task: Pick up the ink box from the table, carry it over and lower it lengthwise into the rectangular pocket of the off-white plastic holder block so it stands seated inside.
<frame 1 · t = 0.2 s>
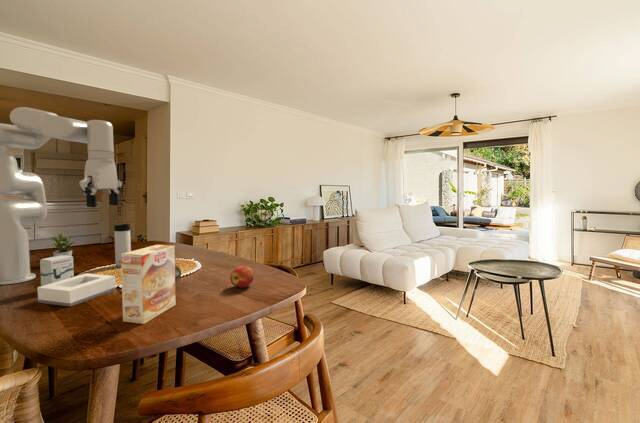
hand: (103, 205, 114), 31 cm above the table, tool pointing down, fingers open, 9 cm apart
holder block: (79, 295, 111), on the table
travel mug: (123, 266, 151), on the table
ink box: (58, 290, 117), on the table
apple: (242, 287, 123), on the table
house plant: (60, 264, 152), on the table
coffeecake box: (151, 313, 97), on the table
tin: (159, 286, 123), on the table
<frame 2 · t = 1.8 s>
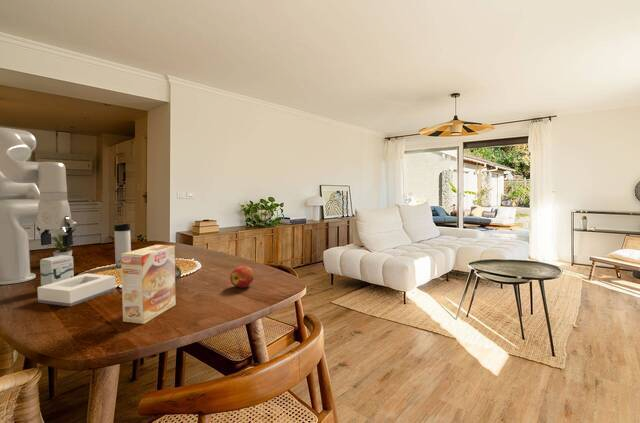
hand: (57, 245, 115), 16 cm above the table, tool pointing down, fingers open, 9 cm apart
nothing on the table moved.
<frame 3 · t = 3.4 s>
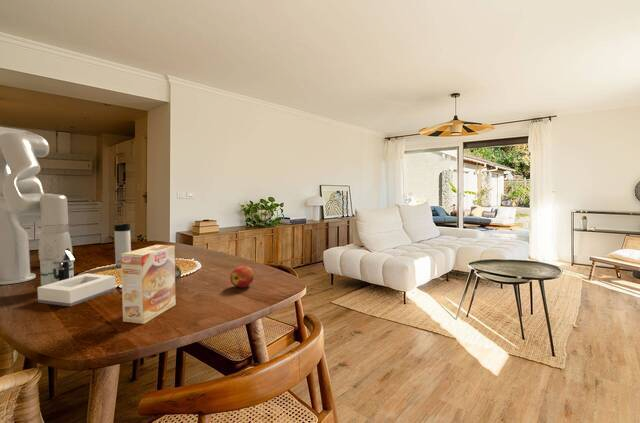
hand: (57, 278, 117), 4 cm above the table, tool pointing down, fingers closed on ink box, 5 cm apart
ink box: (58, 290, 117), on the table, touching gripper
everything else where it was.
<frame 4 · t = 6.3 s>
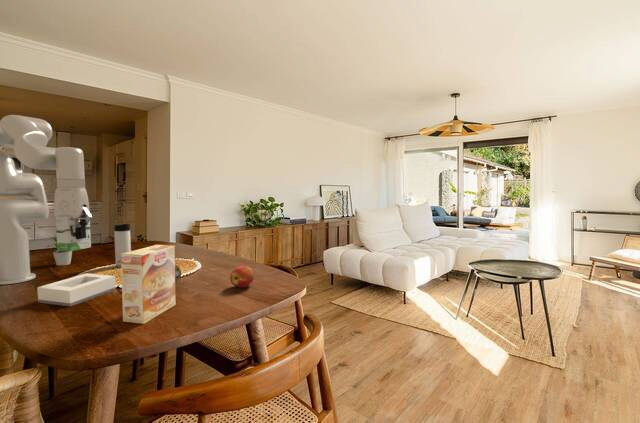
hand: (74, 237, 110), 20 cm above the table, tool pointing down, fingers closed on ink box, 5 cm apart
ink box: (75, 249, 110), point 16 cm above the table, touching gripper
everything else where it was.
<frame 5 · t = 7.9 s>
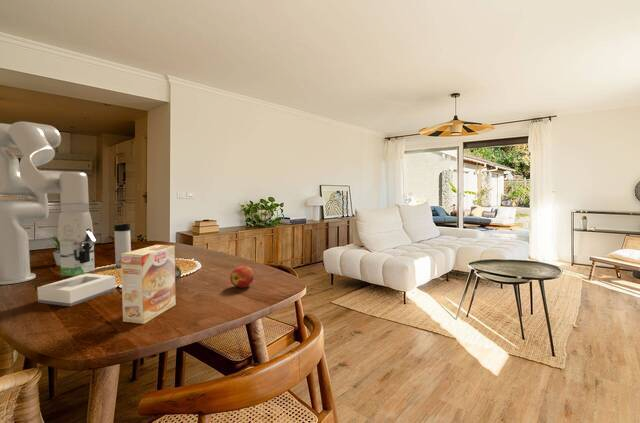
hand: (78, 261, 110), 12 cm above the table, tool pointing down, fingers closed on ink box, 5 cm apart
ink box: (78, 273, 110), point 8 cm above the table, touching gripper
everything else where it was.
when the fingers open (6 cm above the table, at t = 9.3 s): ink box drops 1 cm, resting on holder block.
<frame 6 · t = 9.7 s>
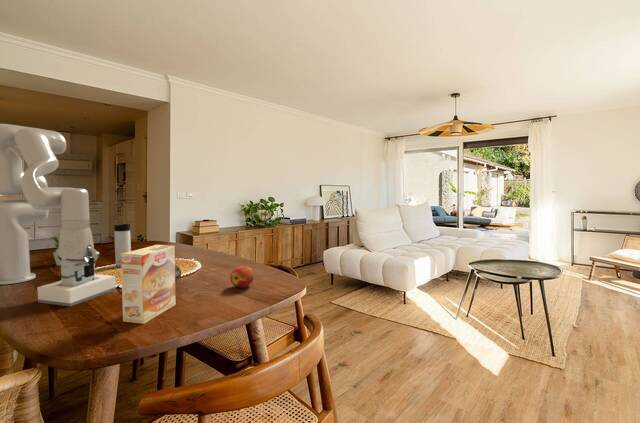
hand: (78, 275, 110), 7 cm above the table, tool pointing down, fingers open, 8 cm apart
ink box: (79, 293, 111), point 1 cm above the table, touching holder block
everything else where it was.
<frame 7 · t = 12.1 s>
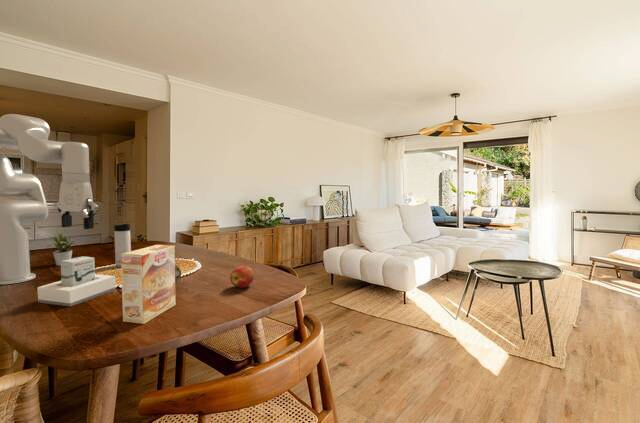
hand: (77, 227, 113), 23 cm above the table, tool pointing down, fingers open, 9 cm apart
nothing on the table moved.
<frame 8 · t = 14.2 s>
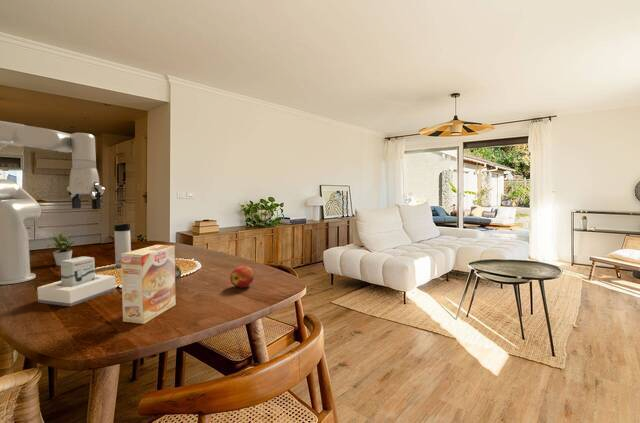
hand: (86, 208, 129), 28 cm above the table, tool pointing down, fingers open, 9 cm apart
nothing on the table moved.
at the end: ink box 0.1 cm off-centre on the holder block, point 0.8 cm above the holder block's base; ink box tilted 0°; the gripper is holding nothing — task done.
